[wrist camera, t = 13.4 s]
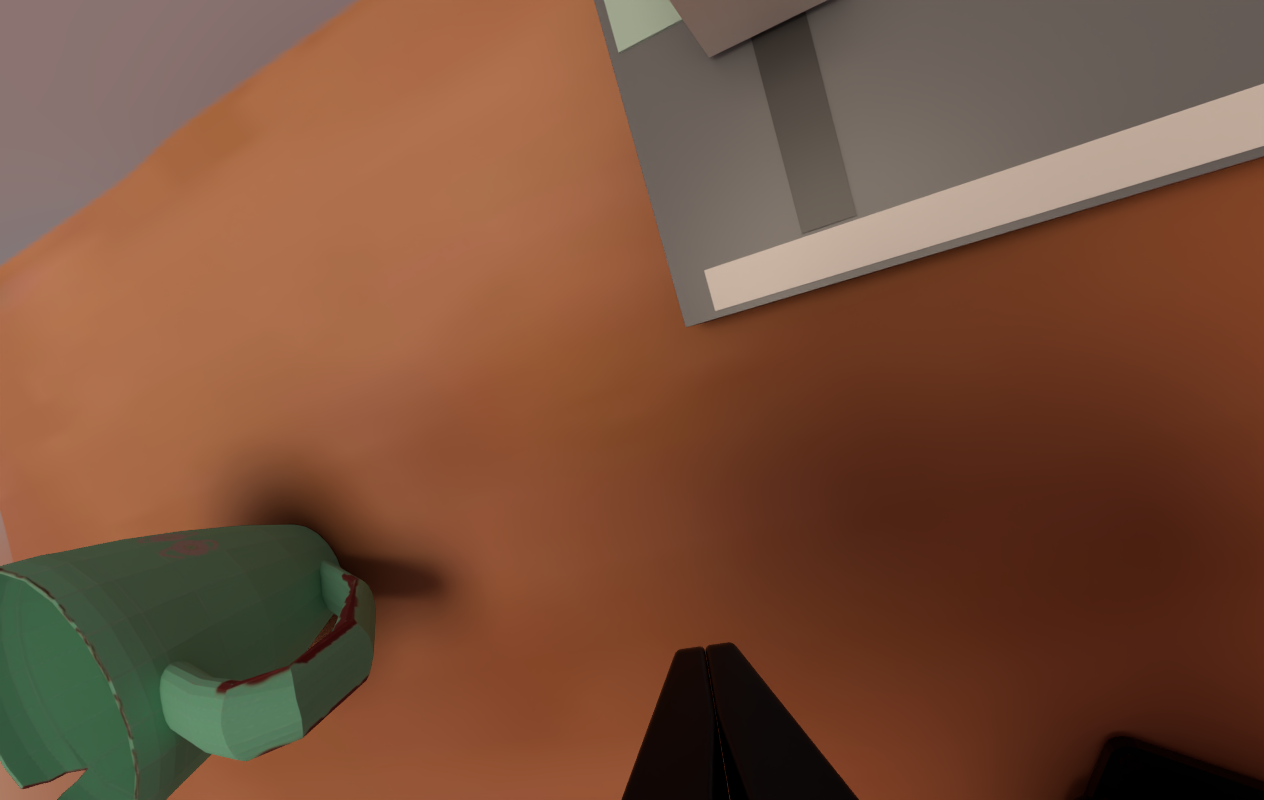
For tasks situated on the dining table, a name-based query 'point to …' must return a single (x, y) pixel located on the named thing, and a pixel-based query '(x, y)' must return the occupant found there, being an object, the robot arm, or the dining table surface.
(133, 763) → the mug
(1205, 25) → the switch block
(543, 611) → the dining table surface
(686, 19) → the switch tab
